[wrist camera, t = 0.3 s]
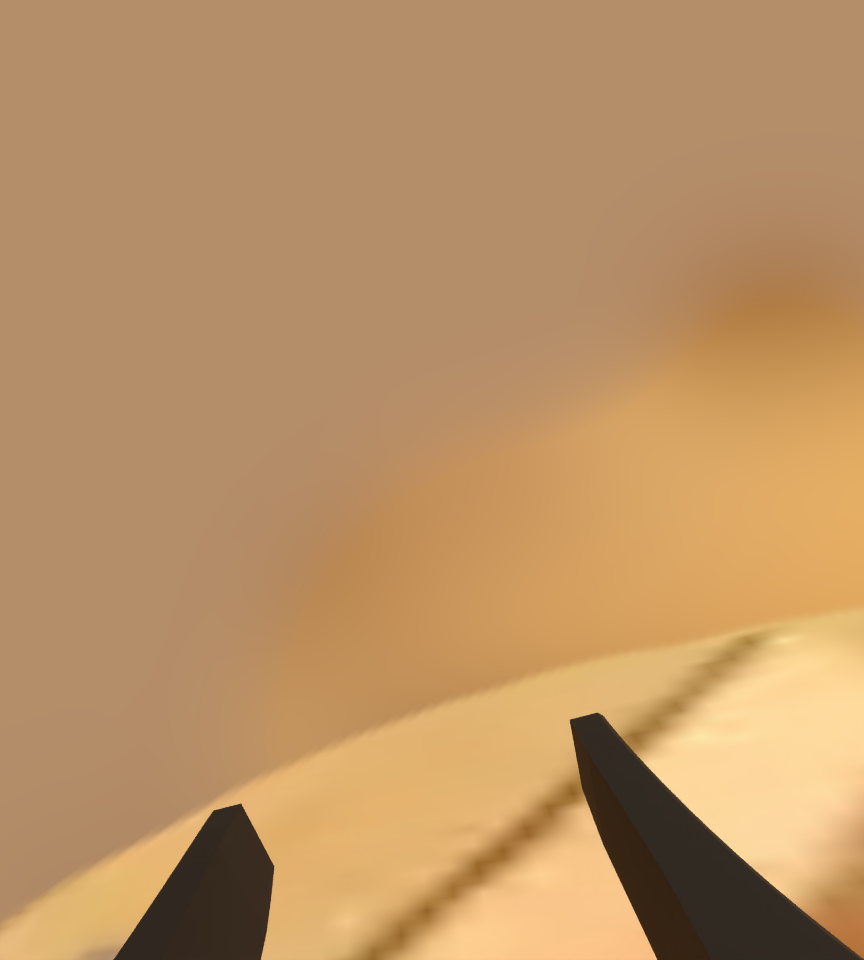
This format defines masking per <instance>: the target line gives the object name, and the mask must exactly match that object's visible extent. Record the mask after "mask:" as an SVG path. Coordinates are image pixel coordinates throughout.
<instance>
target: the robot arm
mask: <svg viewBox="0 0 864 960" xmlns="http://www.w3.org/2000/svg"><path fill="white" fill-rule="evenodd" d="M570 724H571V729H572V735H573V740H574V746H575V751H576V757H577V762H578V768H579V773H580V779H581V784H582V789H583V792H584V794H585V797H586V800H587V802H588V805H589V808H590V810H591V813H592V816H593V819H594V821H595V824H596V826H597V829H598V832H599V834H600V837H601V840H602V842H603V845H604V847H605V849H606V851H607V853H608V856H609V858H610V860H611V862H612V864H613V866H614V868H615V871H616V873H617V875H618V877H619V879H620V881H621V883H622V886H623V888H624V890H625V892H626V894H627V896H628V898H629V900H630V902H631V905H632V907H633V909H634V911H635V913H636V915H637V917H638V919H639V922H640V924H641V926H642V928H643V930H644V932H645V934H646V936H647V938H648V941H649V943H650V945H651V947H652V949H653V951H654V953H655V955H656V958H657V960H864V959H863V958H861V957H860V956H859V955H857V954H856V953H855V952H854V951H852V950H851V949H850V948H849V947H847V946H846V945H845V944H844V943H842V942H841V941H840V940H839V939H837V938H836V937H835V936H834V935H832V934H831V933H830V932H829V931H827V930H826V929H825V928H824V927H822V926H821V925H820V924H819V923H817V922H816V921H815V920H814V919H812V918H811V917H810V916H809V915H807V914H806V913H805V912H804V911H802V910H801V909H800V908H799V907H798V906H796V905H795V904H794V903H793V902H792V901H790V900H789V899H788V898H787V897H786V896H784V895H783V894H782V893H781V892H780V891H778V890H777V889H776V888H775V887H774V886H773V885H771V884H770V883H769V882H768V881H767V880H766V879H764V878H763V877H762V876H761V875H760V874H759V873H758V872H756V871H755V870H754V869H753V868H752V867H751V866H750V865H748V864H747V863H746V862H745V861H744V860H743V859H742V858H741V857H739V856H738V855H737V854H736V853H735V852H734V851H733V850H732V849H731V848H730V847H729V846H727V845H726V844H725V843H724V842H723V841H722V840H721V839H720V838H719V837H718V836H717V835H715V834H714V833H713V832H712V831H711V830H710V829H709V828H708V827H707V826H706V825H705V824H704V823H703V822H702V821H701V820H700V819H699V818H698V817H696V816H695V815H694V814H693V813H692V812H691V811H690V810H689V809H688V808H687V807H686V806H685V805H684V804H683V803H682V802H681V801H680V800H679V799H678V798H677V797H676V796H675V795H674V794H673V793H672V792H671V791H670V790H669V789H668V788H667V787H666V786H665V785H664V784H663V783H662V782H661V781H660V780H659V779H658V777H657V776H656V775H655V774H654V773H653V772H652V771H651V770H650V769H649V768H648V767H647V766H646V765H645V764H644V763H643V761H642V760H641V759H640V758H639V757H638V756H637V755H636V754H635V753H634V752H633V751H632V749H631V748H630V747H629V746H628V745H627V744H626V743H625V742H624V740H623V739H622V738H621V737H620V736H619V735H618V733H617V732H616V731H615V730H614V729H613V727H612V726H611V725H610V724H609V722H608V721H607V720H606V719H605V717H604V716H603V715H601V714H599V713H594V714H590V715H587V716H583V717H579V718H575V719H571V720H570ZM273 874H274V865H273V863H272V861H271V859H270V858H269V856H268V854H267V852H266V850H265V848H264V846H263V844H262V842H261V840H260V839H259V837H258V835H257V833H256V831H255V829H254V827H253V825H252V823H251V821H250V820H249V818H248V816H247V814H246V812H245V810H244V808H243V806H242V804H238V805H234V806H230V807H226V808H222V809H218V810H214V811H213V812H212V814H211V815H210V817H209V818H208V819H207V821H206V822H205V824H204V825H203V827H202V828H201V830H200V831H199V833H198V834H197V836H196V837H195V839H194V840H193V842H192V844H191V845H190V847H189V848H188V850H187V851H186V853H185V854H184V856H183V857H182V859H181V860H180V862H179V863H178V865H177V866H176V868H175V869H174V871H173V872H172V874H171V875H170V877H169V878H168V880H167V881H166V883H165V885H164V886H163V888H162V889H161V891H160V892H159V894H158V895H157V897H156V898H155V900H154V901H153V903H152V904H151V906H150V907H149V908H148V910H147V911H146V913H145V914H144V916H143V917H142V919H141V920H140V922H139V923H138V925H137V926H136V928H135V929H134V931H133V932H132V934H131V935H130V937H129V938H128V940H127V941H126V943H125V944H124V946H123V947H122V948H121V950H120V951H119V953H118V954H117V955H116V957H115V958H114V960H261V956H262V951H263V946H264V942H265V937H266V932H267V925H268V917H269V910H270V902H271V893H272V884H273Z"/></svg>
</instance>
